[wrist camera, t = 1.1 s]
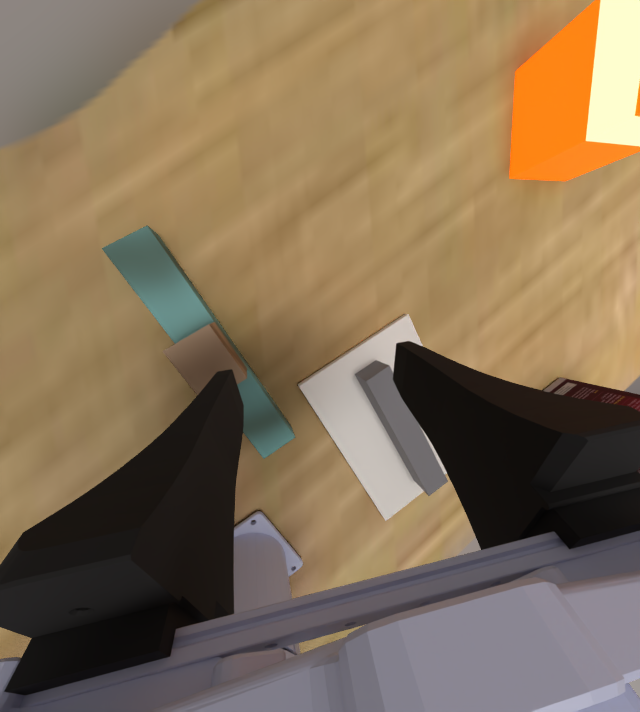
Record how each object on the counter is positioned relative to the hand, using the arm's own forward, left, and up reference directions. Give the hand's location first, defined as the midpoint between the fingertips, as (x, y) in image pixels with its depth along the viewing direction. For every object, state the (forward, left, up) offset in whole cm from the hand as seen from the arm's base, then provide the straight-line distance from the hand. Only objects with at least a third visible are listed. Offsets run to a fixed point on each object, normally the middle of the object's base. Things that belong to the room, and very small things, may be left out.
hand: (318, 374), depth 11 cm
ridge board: (+5, -13, -11) cm, 18 cm away
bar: (-5, +2, -11) cm, 13 cm away
